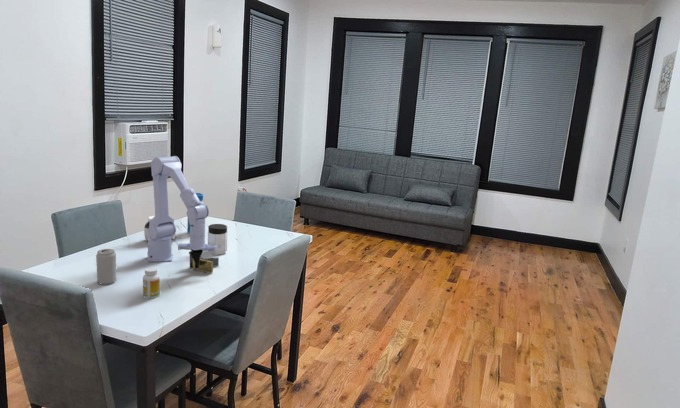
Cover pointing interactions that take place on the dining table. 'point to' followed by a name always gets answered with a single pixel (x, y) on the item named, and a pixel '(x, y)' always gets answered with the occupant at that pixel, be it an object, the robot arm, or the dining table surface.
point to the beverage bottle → (200, 201)
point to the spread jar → (148, 228)
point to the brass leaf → (204, 265)
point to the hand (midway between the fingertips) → (197, 267)
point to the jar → (218, 238)
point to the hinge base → (214, 260)
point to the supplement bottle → (151, 283)
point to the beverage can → (106, 266)
